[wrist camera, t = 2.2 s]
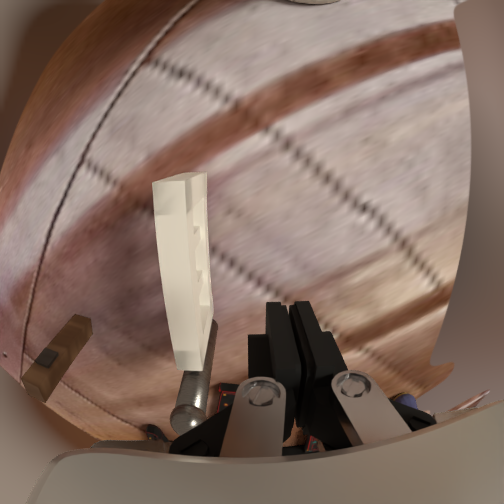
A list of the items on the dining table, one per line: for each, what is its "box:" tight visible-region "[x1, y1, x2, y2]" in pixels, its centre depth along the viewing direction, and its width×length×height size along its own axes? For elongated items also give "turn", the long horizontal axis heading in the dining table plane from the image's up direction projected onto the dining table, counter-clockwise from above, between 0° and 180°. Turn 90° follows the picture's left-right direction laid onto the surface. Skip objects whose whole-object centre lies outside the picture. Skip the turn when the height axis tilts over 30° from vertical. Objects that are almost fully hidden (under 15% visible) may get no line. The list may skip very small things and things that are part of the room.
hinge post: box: [170, 319, 218, 435], centre depth 24 cm, size 3×3×15 cm
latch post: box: [21, 314, 93, 403], centre depth 24 cm, size 3×2×13 cm
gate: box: [152, 172, 214, 371], centre depth 22 cm, size 2×15×9 cm, turn 0°
